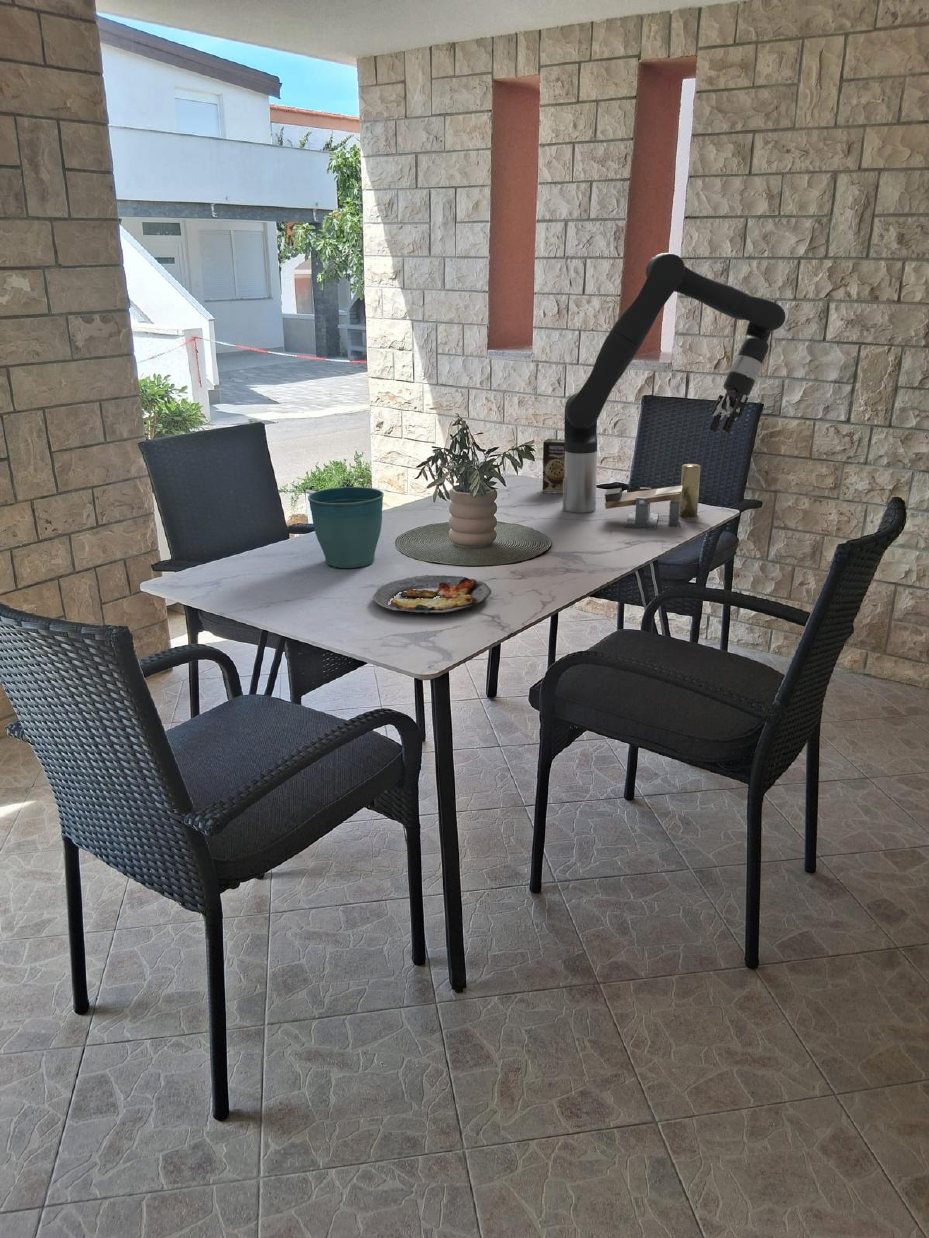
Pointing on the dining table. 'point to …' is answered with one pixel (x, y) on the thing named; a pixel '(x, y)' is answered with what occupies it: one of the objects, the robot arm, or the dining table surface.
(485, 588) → the food plate
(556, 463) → the cookie box
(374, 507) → the flower pot
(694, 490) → the block
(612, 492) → the beam
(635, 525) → the beam stand
